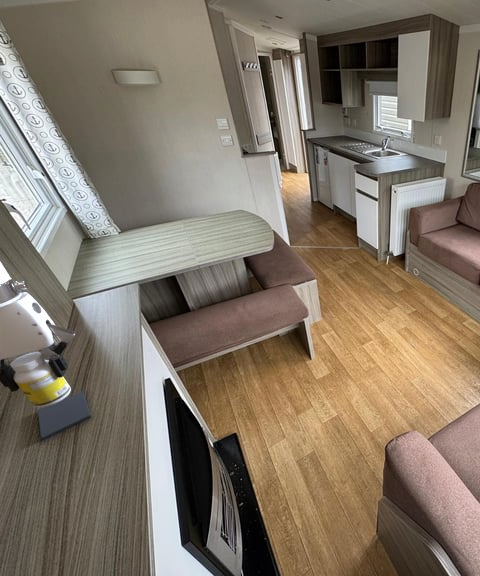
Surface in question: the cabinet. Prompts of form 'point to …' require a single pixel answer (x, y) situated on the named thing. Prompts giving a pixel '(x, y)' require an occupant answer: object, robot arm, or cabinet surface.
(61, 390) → the supplement bottle
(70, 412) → the mat
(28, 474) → the cabinet surface
